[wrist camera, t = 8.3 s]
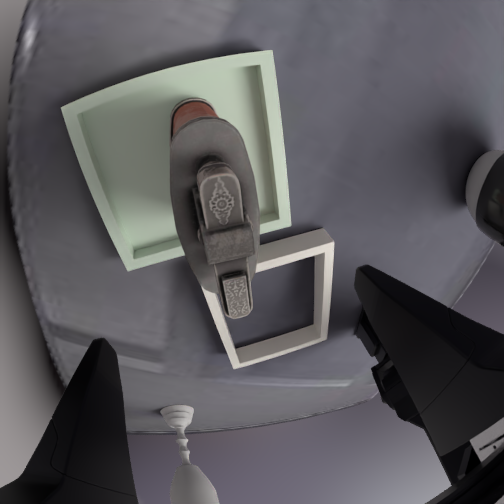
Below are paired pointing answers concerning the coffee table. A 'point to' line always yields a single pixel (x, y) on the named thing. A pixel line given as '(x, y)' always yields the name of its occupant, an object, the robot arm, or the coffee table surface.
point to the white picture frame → (324, 253)
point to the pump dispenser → (487, 194)
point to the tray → (158, 150)
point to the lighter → (214, 203)
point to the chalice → (187, 464)
